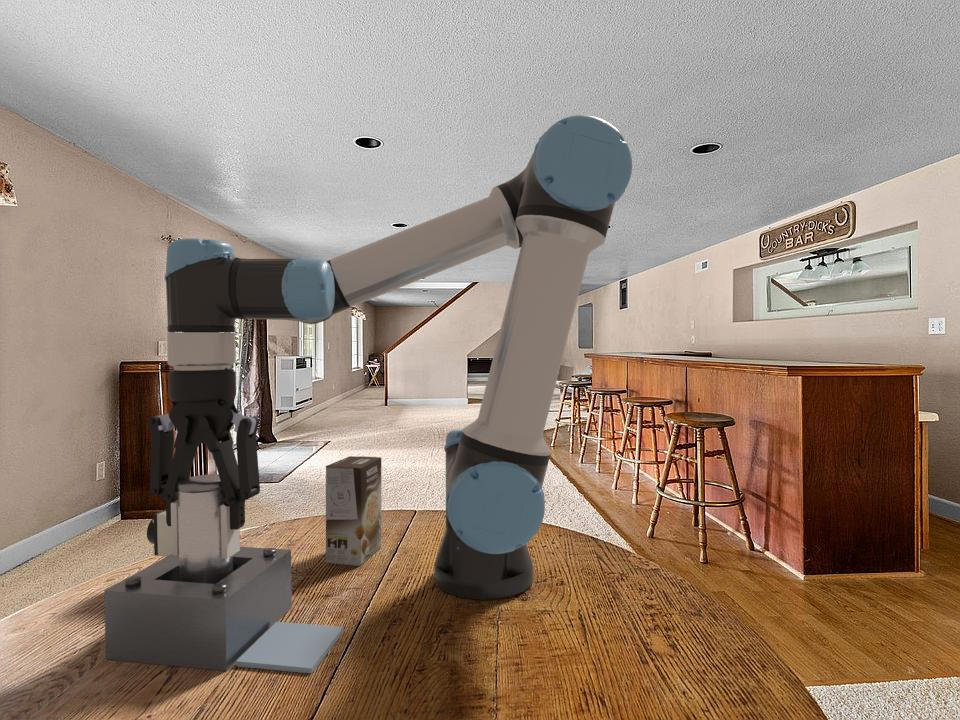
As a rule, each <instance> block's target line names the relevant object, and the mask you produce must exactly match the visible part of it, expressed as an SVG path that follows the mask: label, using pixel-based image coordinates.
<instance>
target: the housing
mask: <svg viewBox="0 0 960 720" xmlns="http://www.w3.org/2000/svg"><path fill="white" fill-rule="evenodd" d="M103 591H104V593H103V595H104V602H103V603H104V635H105V636H104V638H105V642H104V643H105V660H110V661H120V662H130V663H141V664H152V665H159V666H170V667H172V666H173V667H180V668H181V667H182V668H190V669H192V668H193V669H202V670H212V671H221V672H222V671H224V672H228V670H229V669H230V668H232V666H233V665H235V664H236V661H237V660H238V659H239V658H240V657H241V656H242V655H243V654H244V653H245V652H246V651H247V650H248V649H249V648H250V647H251V646H252V645H253V644H254V643H255V642H256V641H257V640H258V639H259V638H260V637H261V636H262V635H263V634H264V633H265V632H266V631H267V630H268V629H269V628H270V627H272V626H273V625H274V624H275V623H276V622H279V621H280V620H281V619H282V618H283V617H284V616H285V615H286V614H287V613H288V612H289V611H290V610H291V609H292V608H293V605H292V601H293V599H292V597H293V596H292V593H293V592H292V549H285V548H284V549H283V548H282V549H281V548H276V547H266V548H265V547H252V546H251V547H250V546H240V551H238V552H237V553H235V554H234V555H233V572H232V573H231V574H230V575H228V576H227V577H225V578H224V579H222V580H221V581H219V582H218V583H216V584H208V583H194V582H180V578H179V555H172V554H170V555H169V556H167V557H166V556H164V558H162V559H159V560H158V561H156V562H154V563H153V564H151V565H148V566H147V567H145V568H143V569H141V570H140V571H138V572H135V573H134V574H132V575H130V576H128V577H126V578H124V579H122V580H121V581H119V582H117V583H115V584H113V585H111V586H109V587H108V588H106V589H104V590H103Z"/></svg>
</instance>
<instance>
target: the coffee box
mask: <svg viewBox="0 0 960 720" xmlns="http://www.w3.org/2000/svg"><path fill="white" fill-rule="evenodd" d="M382 459H383V457H378V456H352V455H350V456H347V457H345V458H342V459H340V460H338V461H335V462H333V463H330V464H328V465H325V563H326V564H334V565H342V566H343V565H346V566H355V567H359V566H361V565H363V564H364V563H365V562H366V561H367V560H369V558H371V557H372V556H373V555H374V554H375V553H376V552H377V551H379V549H381V548H382Z"/></svg>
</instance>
